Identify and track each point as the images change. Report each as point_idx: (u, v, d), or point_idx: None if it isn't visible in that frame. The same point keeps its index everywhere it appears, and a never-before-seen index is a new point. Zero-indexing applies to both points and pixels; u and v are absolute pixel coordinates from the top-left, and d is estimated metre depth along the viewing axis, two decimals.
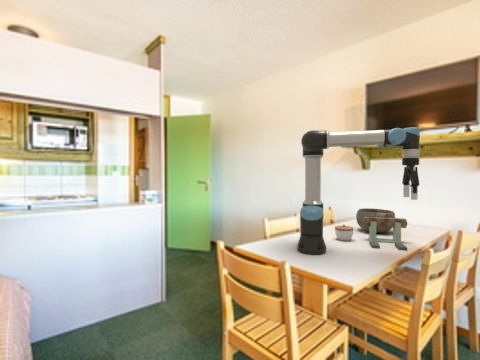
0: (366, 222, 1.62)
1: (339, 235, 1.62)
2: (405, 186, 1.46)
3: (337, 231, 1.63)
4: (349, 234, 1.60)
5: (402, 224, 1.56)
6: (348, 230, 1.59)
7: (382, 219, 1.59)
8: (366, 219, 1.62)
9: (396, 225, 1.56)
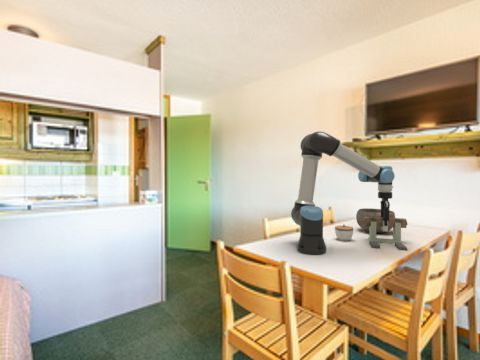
0: (366, 222, 1.62)
1: (339, 235, 1.62)
2: None
3: (337, 231, 1.63)
4: (349, 234, 1.60)
5: (402, 224, 1.56)
6: (348, 230, 1.59)
7: None
8: (366, 219, 1.62)
9: (396, 225, 1.56)
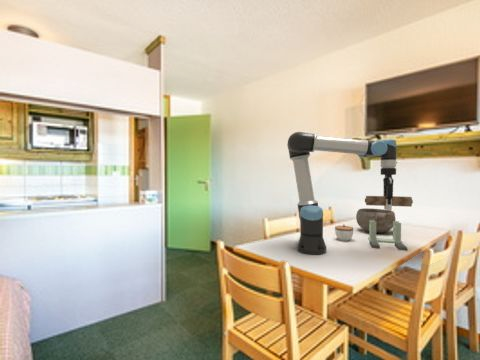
0: (368, 201, 1.49)
1: (339, 235, 1.62)
2: None
3: (337, 231, 1.63)
4: (349, 234, 1.60)
5: (407, 202, 1.43)
6: (348, 230, 1.59)
7: None
8: (368, 198, 1.49)
9: (396, 225, 1.56)
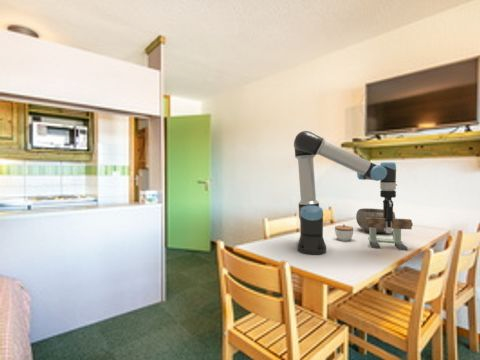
0: (368, 223, 1.50)
1: (339, 235, 1.62)
2: None
3: (337, 231, 1.63)
4: (349, 234, 1.60)
5: (407, 225, 1.44)
6: (348, 230, 1.59)
7: None
8: (368, 220, 1.50)
9: None
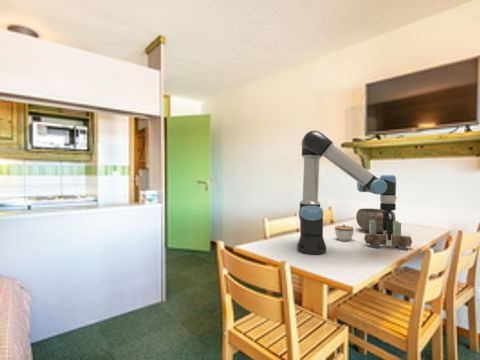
0: (367, 239, 1.50)
1: (339, 235, 1.62)
2: (385, 232, 1.52)
3: (337, 231, 1.63)
4: (349, 234, 1.60)
5: (406, 242, 1.44)
6: (348, 230, 1.59)
7: (385, 236, 1.47)
8: (367, 236, 1.50)
9: (396, 225, 1.56)
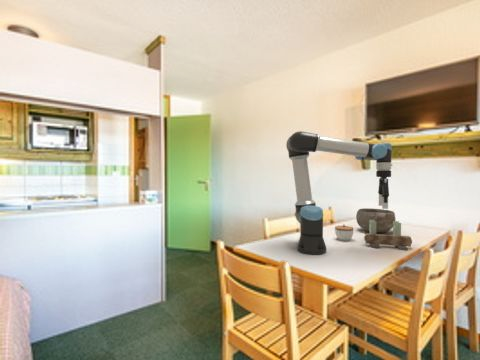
0: (367, 239, 1.50)
1: (339, 235, 1.62)
2: (380, 195, 1.59)
3: (337, 231, 1.63)
4: (349, 234, 1.60)
5: (406, 242, 1.44)
6: (348, 230, 1.59)
7: (385, 236, 1.47)
8: (367, 236, 1.50)
9: (396, 225, 1.56)
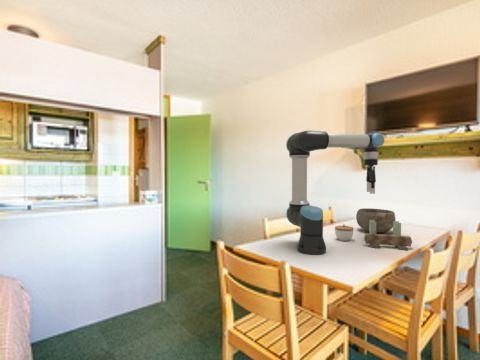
0: (367, 239, 1.50)
1: (339, 235, 1.62)
2: (368, 182, 1.74)
3: (337, 231, 1.63)
4: (349, 234, 1.60)
5: (406, 242, 1.44)
6: (348, 230, 1.59)
7: (385, 236, 1.47)
8: (367, 236, 1.50)
9: (396, 225, 1.56)
